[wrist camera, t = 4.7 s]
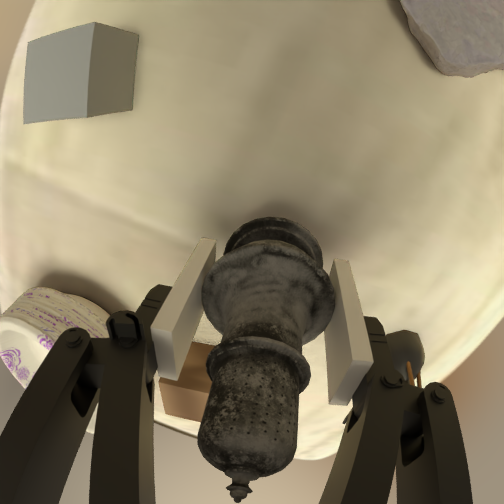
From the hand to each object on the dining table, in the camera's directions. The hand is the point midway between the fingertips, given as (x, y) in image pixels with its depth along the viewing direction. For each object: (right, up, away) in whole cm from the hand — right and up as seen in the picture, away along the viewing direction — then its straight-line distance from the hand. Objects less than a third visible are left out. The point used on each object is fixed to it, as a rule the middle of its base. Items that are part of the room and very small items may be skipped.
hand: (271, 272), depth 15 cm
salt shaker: (0, +1, +1) cm, 1 cm away
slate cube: (-11, +12, 0) cm, 16 cm away
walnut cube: (-5, -9, +11) cm, 15 cm away
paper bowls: (-17, -7, +11) cm, 22 cm away
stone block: (+11, +17, -5) cm, 21 cm away
